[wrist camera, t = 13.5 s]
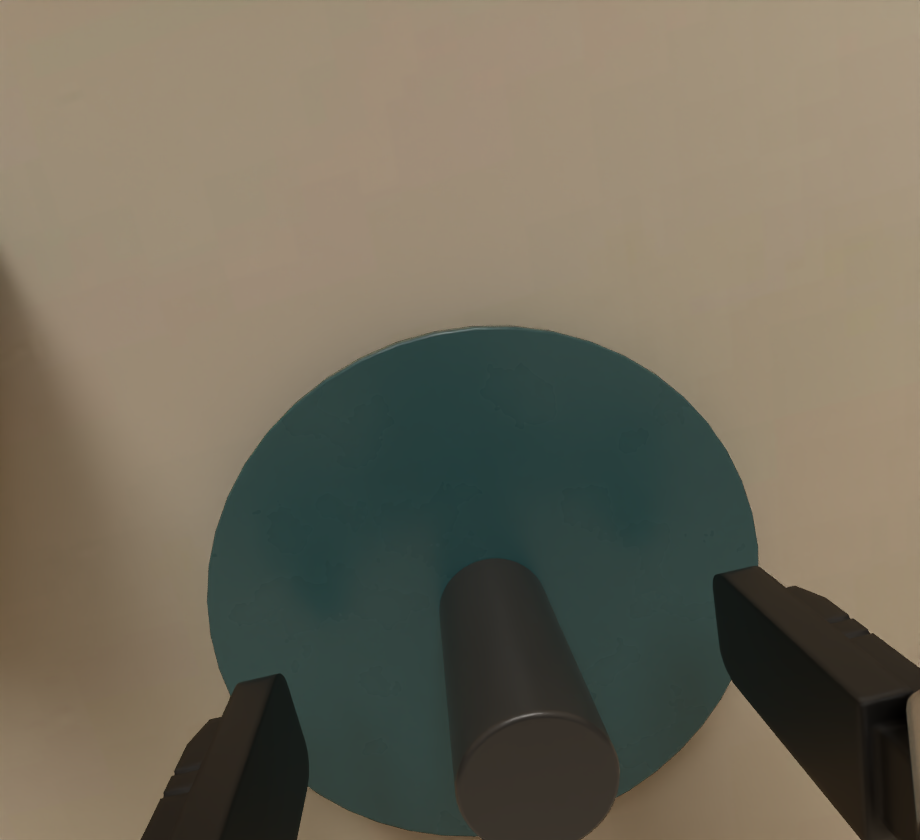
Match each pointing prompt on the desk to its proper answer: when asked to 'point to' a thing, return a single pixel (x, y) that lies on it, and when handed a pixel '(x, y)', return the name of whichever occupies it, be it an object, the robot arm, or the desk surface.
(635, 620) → the pan lid
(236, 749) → the robot arm
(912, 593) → the desk surface
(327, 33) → the desk surface
